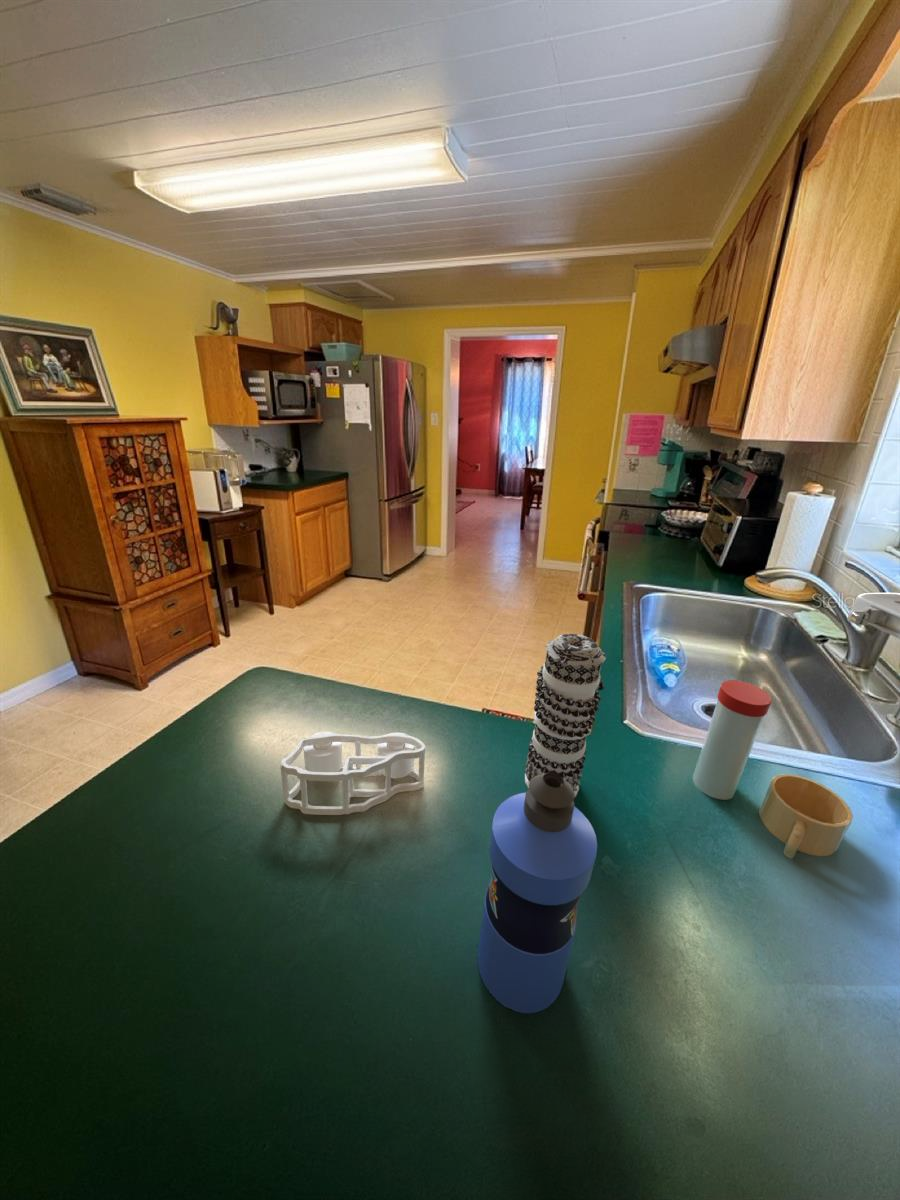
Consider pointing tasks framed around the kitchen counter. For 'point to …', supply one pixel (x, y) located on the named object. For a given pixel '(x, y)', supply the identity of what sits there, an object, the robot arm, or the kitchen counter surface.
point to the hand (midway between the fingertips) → (882, 631)
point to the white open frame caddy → (352, 769)
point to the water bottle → (534, 893)
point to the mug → (805, 815)
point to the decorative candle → (565, 708)
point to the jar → (730, 738)
